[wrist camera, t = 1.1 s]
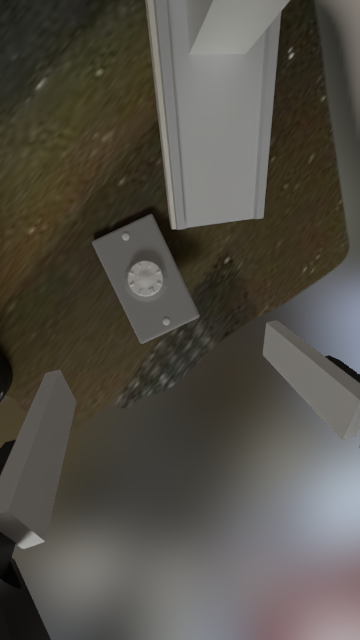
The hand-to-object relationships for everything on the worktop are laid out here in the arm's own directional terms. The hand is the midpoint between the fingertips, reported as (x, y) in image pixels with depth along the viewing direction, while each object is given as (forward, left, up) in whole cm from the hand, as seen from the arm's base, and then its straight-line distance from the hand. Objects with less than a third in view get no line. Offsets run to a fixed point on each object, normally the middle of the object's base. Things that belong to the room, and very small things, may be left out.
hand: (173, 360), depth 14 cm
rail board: (+11, +16, -20) cm, 28 cm away
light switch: (0, 0, -21) cm, 21 cm away
